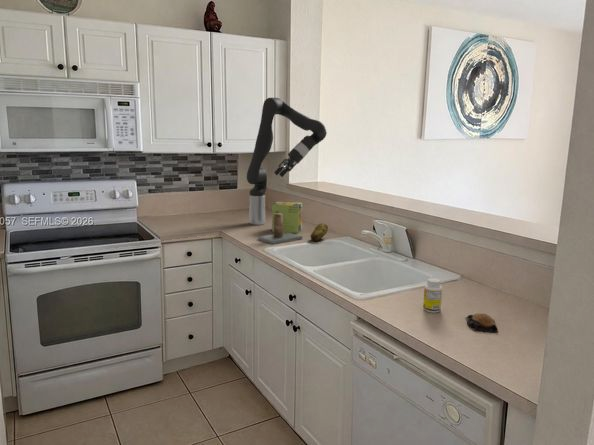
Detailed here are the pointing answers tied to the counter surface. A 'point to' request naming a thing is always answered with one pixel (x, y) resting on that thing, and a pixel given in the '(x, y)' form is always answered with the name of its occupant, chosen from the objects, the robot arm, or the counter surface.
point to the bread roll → (481, 323)
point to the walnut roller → (278, 225)
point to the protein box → (289, 216)
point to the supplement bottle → (432, 295)
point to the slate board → (285, 238)
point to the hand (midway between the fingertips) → (278, 174)
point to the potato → (319, 232)
